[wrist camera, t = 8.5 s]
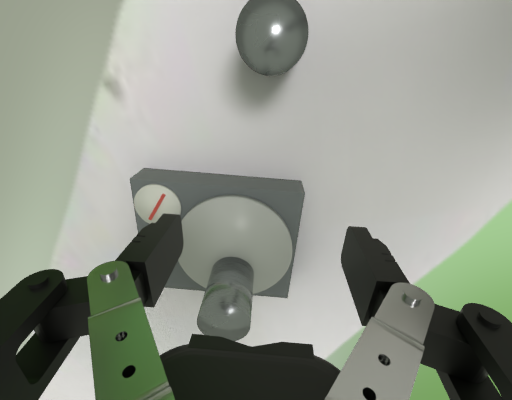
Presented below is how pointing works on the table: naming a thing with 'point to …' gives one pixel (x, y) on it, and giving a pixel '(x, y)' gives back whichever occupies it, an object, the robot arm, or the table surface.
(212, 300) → the cylinder
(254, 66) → the cylinder
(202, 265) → the scale
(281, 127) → the table surface
